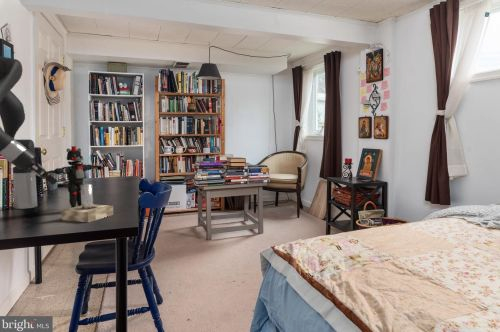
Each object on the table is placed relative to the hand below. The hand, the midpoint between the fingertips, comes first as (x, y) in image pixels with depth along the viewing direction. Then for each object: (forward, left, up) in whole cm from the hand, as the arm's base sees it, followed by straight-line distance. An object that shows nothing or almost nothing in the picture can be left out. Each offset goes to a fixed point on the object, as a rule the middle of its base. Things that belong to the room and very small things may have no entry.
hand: (53, 181), depth 137 cm
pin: (+7, +10, -16) cm, 20 cm away
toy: (-7, +18, -16) cm, 25 cm away
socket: (+7, +10, -16) cm, 20 cm away
